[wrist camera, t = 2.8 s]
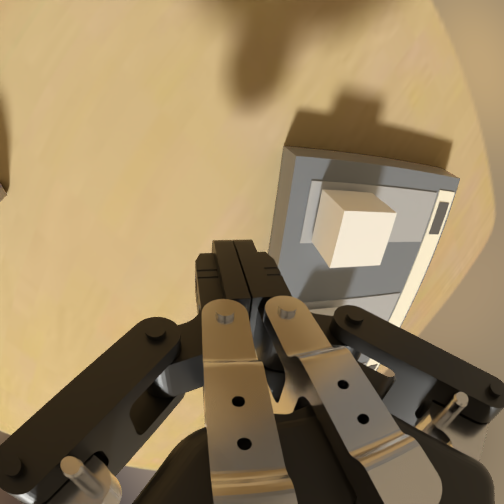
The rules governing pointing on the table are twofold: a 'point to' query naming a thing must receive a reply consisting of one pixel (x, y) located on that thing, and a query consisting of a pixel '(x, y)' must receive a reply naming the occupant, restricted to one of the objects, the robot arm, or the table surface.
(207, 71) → the table surface
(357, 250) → the tab
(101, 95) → the table surface
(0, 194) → the caliper
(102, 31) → the table surface
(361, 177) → the switch board
